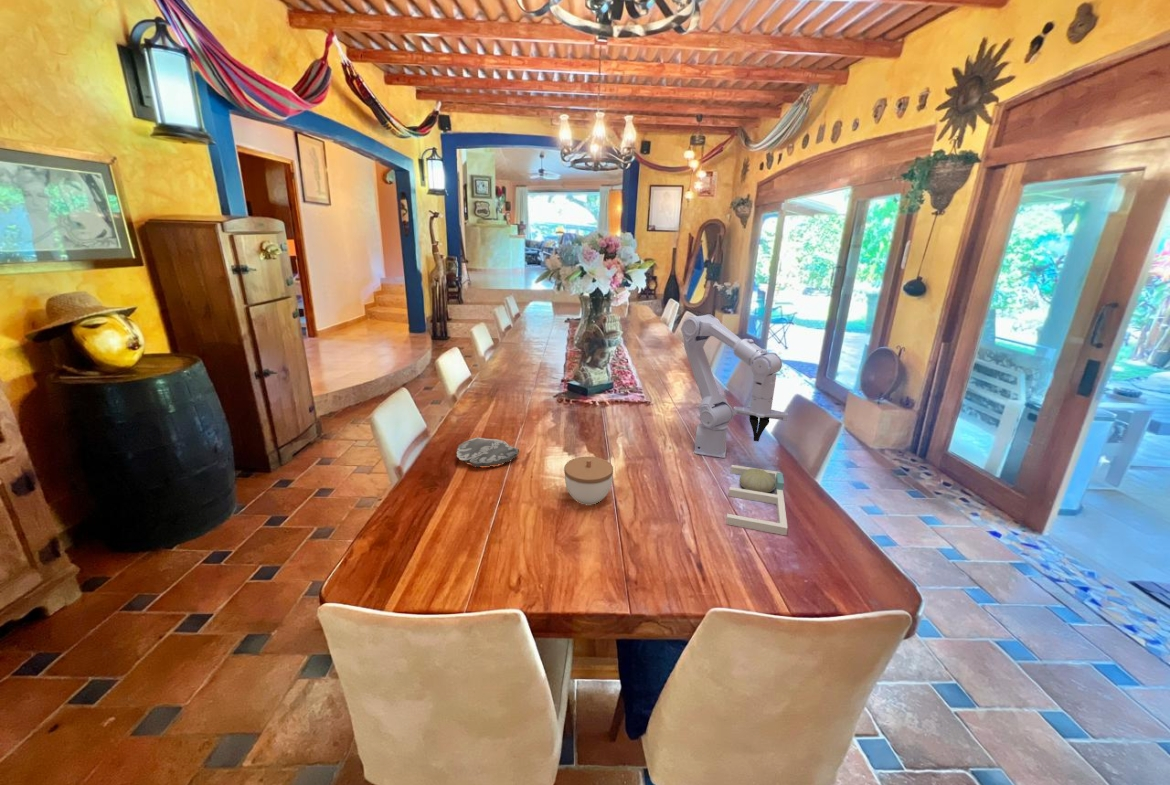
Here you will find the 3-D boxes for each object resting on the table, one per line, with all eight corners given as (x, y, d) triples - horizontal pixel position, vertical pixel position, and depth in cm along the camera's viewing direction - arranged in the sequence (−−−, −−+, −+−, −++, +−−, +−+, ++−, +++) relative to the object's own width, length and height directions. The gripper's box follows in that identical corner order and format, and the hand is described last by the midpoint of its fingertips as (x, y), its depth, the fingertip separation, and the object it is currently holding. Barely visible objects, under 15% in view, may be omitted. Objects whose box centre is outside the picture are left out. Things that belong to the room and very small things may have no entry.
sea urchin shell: (773, 474, 132) (777, 465, 125) (771, 501, 129) (776, 494, 122) (739, 469, 135) (742, 460, 128) (737, 496, 132) (739, 488, 125)
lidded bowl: (577, 516, 115) (577, 476, 111) (556, 492, 125) (556, 455, 122) (621, 503, 120) (622, 465, 117) (597, 481, 131) (598, 446, 127)
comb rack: (726, 524, 112) (727, 509, 111) (730, 470, 138) (732, 458, 137) (786, 535, 108) (788, 520, 107) (779, 478, 134) (781, 465, 133)
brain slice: (441, 463, 141) (441, 454, 140) (478, 442, 155) (478, 434, 155) (493, 478, 133) (493, 469, 132) (527, 455, 147) (527, 446, 146)
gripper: (735, 397, 131) (729, 441, 135) (791, 403, 126) (783, 449, 131) (735, 390, 137) (730, 432, 141) (789, 395, 133) (782, 439, 137)
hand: (756, 439), depth 136 cm, fingers closed
